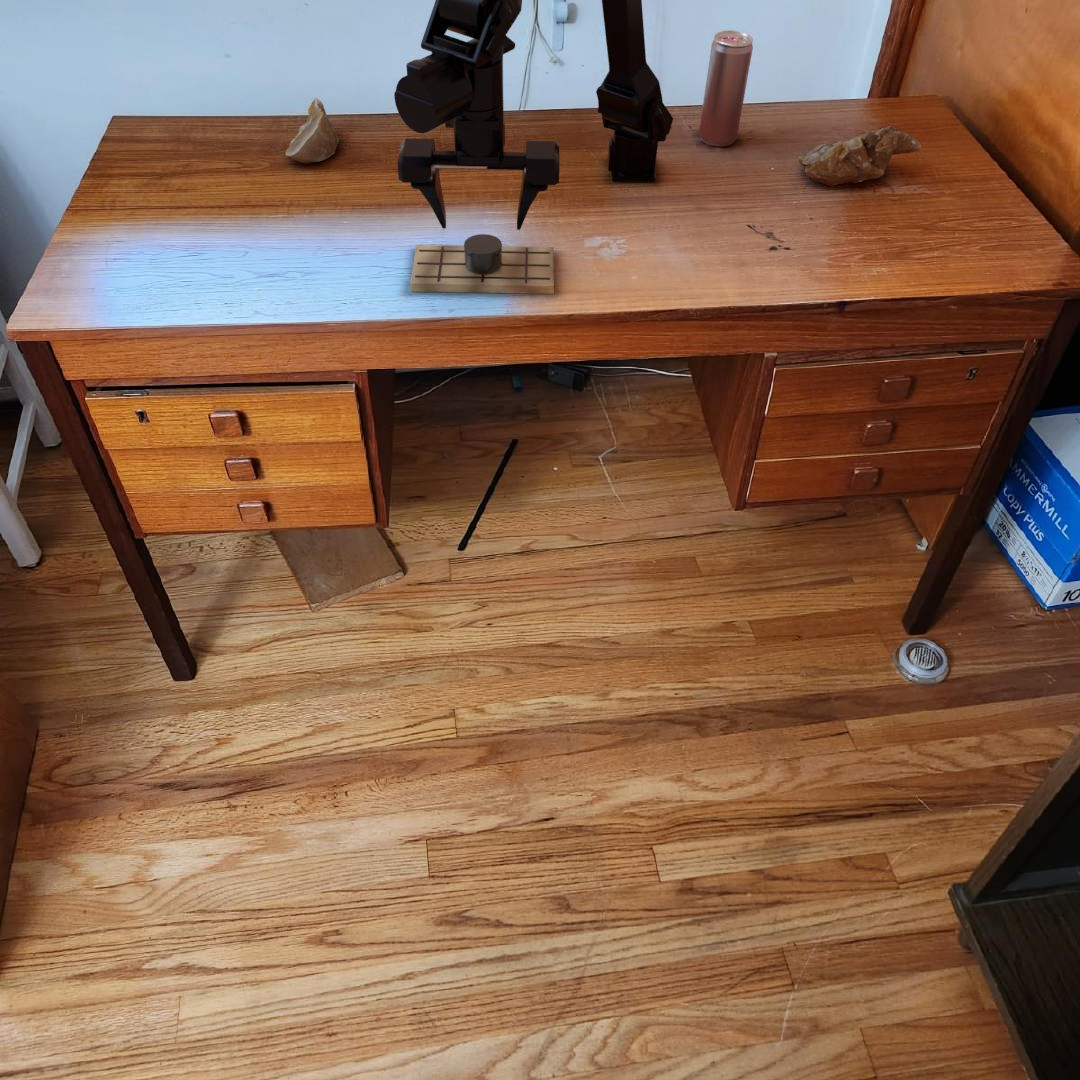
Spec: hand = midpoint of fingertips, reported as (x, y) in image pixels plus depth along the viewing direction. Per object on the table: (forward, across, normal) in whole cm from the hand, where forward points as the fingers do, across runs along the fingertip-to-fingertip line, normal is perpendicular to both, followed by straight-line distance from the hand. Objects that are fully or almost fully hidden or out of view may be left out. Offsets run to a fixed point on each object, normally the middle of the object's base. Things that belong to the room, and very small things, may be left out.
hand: (481, 227), depth 119 cm
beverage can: (+7, -35, -39) cm, 53 cm away
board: (+6, 0, 0) cm, 7 cm away
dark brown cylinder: (+5, 0, 0) cm, 5 cm away
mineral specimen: (+7, -54, -28) cm, 61 cm away
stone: (+7, +27, -34) cm, 44 cm away
